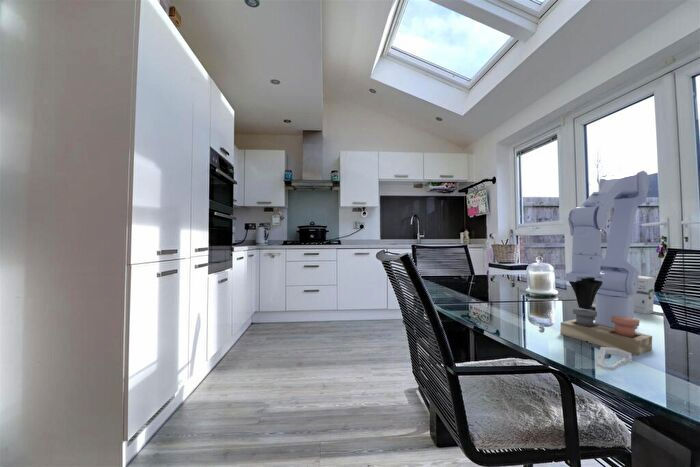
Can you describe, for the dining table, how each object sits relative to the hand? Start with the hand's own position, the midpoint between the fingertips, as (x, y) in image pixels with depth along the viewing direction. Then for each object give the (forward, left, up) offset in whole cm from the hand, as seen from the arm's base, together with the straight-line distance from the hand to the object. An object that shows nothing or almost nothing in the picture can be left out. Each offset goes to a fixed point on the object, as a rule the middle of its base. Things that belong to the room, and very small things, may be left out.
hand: (584, 308), depth 77 cm
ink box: (-46, -6, -7) cm, 47 cm away
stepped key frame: (+11, +10, -8) cm, 17 cm away
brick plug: (0, +8, -4) cm, 9 cm away
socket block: (0, +4, -7) cm, 8 cm away
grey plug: (0, 0, -4) cm, 4 cm away
